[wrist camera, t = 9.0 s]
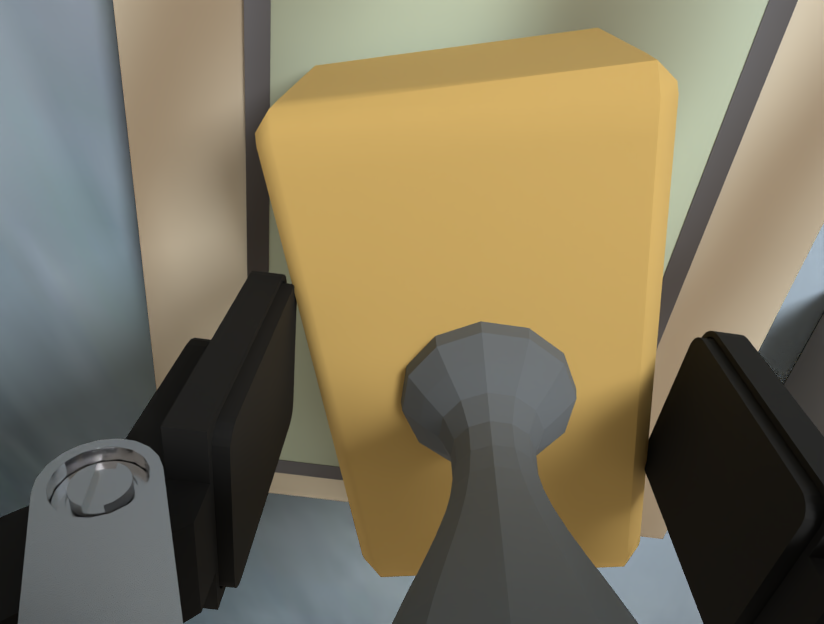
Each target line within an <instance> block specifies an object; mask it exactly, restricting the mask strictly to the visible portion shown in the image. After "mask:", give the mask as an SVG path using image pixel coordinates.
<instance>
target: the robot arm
mask: <svg viewBox="0 0 824 624" xmlns="http://www.w3.org/2000/svg"><path fill="white" fill-rule="evenodd" d="M296 311H297V301H296V297H295V290H294V285H293V284H290V283H287V280H286V276H285V274H277V273H269V272H262V271H251V273H250V274H249V276H248V278H247V279H246V281H245V283H244V284H243V286H242V288H241V290H240V291H239V293H238V295H237V296H236V298H235V300H234V302H233V303H232V305H231V307H230V308H229V310H228V312H227V314H226V315H225V317H224V319H223V320H222V322H221V324H220V325H219V327H218V329H217V331H216V332H215V334H214V336H213V337H212V339H211V340H210V339H202V338H192V339H190V341H189V342H188V343H187V344H186V346H185V347H184V349H183V350H182V352H181V353H180V355H179V357H178V358H177V360H176V361H175V363H174V364H173V366H172V368H171V369H170V371H169V372H168V374H167V375H166V377H165V378H164V380H163V382H162V383H161V385H160V386H159V388H158V389H157V391H156V392H155V394H154V396H153V397H152V399H151V400H150V402H149V403H148V405H147V406H146V408H145V410H144V411H143V413H142V414H141V416H140V417H139V419H138V421H137V422H136V424H135V425H134V427H133V428H132V430H131V431H130V433H129V435H128V436H127V438H126V439H119V438H116V439H103V440H96V441H93V442H89V443H85V444H82V445H79V446H77V447H74V448H72V449H70V450H68V451H66V452H64V453H62V454H60V455H59V456H58V457H57V458H55V459H54V460H53V461H51V462H50V463H49V464H47V465H46V466H45V468H44V469H43V470H42V471H41V473H40V474H39V475H38V476H37V478H36V479H35V482H34V485H33V488H32V491H31V496H30V505H29V506H27V507H24V508H22V509H20V510H17V511H15V512H12V513H10V514H8V515H5V516H3V517H1V518H0V624H183V623H184V622H186V621H188V620H189V619H191V618H193V617H194V616H196V615H198V614H199V613H201V612H202V609H203V608H208V609H217V610H218V608H219V605H220V602H221V599H222V596H223V593H224V590H225V587H234V588H237V587H238V585H239V583H240V580H241V578H242V575H243V571H244V568H245V565H246V562H247V559H248V556H249V552H250V549H251V546H252V543H253V540H254V537H255V533H256V530H257V527H258V524H259V521H260V518H261V515H262V511H263V508H264V505H265V502H266V499H267V496H268V492H269V489H270V486H271V483H272V480H273V477H274V473H275V470H276V467H277V464H278V461H279V458H280V455H281V451H282V448H283V445H284V442H285V439H286V436H287V432H288V429H289V426H290V422H291V418H292V412H293V398H294V369H295V340H296ZM644 470H645V473H646V475H647V478H648V480H649V483H650V486H651V488H652V491H653V493H654V496H655V499H656V501H657V504H658V507H659V509H660V512H661V514H662V517H663V520H664V522H665V525H666V527H667V530H668V533H669V535H670V538H671V540H672V543H673V546H674V548H675V551H676V553H677V556H678V559H679V561H680V564H681V566H682V569H683V572H684V574H685V577H686V579H687V582H688V585H689V587H690V590H691V592H692V595H693V598H694V600H695V603H696V605H697V608H698V611H699V613H700V616H701V618H702V621H703V624H824V436H823V435H822V434H821V432H820V431H819V430H818V429H817V427H816V426H815V425H814V423H813V422H812V421H811V419H810V418H809V417H808V416H807V414H806V413H805V412H804V410H803V409H802V408H801V407H800V405H799V404H798V403H797V401H796V400H795V399H794V398H793V396H792V395H791V394H790V392H789V391H788V390H787V389H786V387H785V386H784V385H783V383H782V382H781V381H780V380H779V378H778V377H777V376H776V374H775V373H774V372H773V371H772V369H771V368H770V367H769V365H768V364H767V363H766V362H765V360H764V359H763V358H762V356H761V355H760V354H759V353H758V351H757V350H756V349H755V347H754V346H753V345H752V344H751V342H750V341H749V340H748V338H746V337H745V336H744V335H740V334H732V333H724V332H717V331H708V332H706V333H705V334H704V335H703V336H702V338H701V337H697V338H695V339H694V340H693V341H692V342H691V344H690V346H689V348H688V351H687V353H686V355H685V357H684V360H683V362H682V364H681V367H680V369H679V371H678V373H677V376H676V378H675V380H674V383H673V385H672V387H671V389H670V392H669V394H668V396H667V399H666V401H665V403H664V405H663V408H662V410H661V412H660V415H659V417H658V419H657V421H656V424H655V426H654V428H653V431H652V433H651V435H650V437H649V441H648V452H647V461H646V465H645V469H644Z"/></svg>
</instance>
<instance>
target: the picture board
mask: <svg viewBox="0 0 824 624" xmlns="http://www.w3.org/2000/svg"><path fill="white" fill-rule="evenodd" d="M113 5H114V14H115V23H116V32H117V41H118V50H119V58H120V67H121V76H122V85H123V94H124V103H125V112H126V121H127V130H128V139H129V148H130V157H131V166H132V175H133V184H134V193H135V202H136V211H137V220H138V229H139V237H140V246H141V255H142V264H143V273H144V282H145V291H146V300H147V309H148V318H149V327H150V336H151V345H152V354H153V363H154V372H155V381H156V390H157V389H158V388H159V386H160V385H161V383H162V382H163V380H164V378H165V377H166V375H167V374H168V372H169V371H170V369H171V368H172V366H173V364H174V363H175V361H176V360H177V358H178V357H179V355H180V353H181V352H182V350H183V349H184V347H185V346H186V344H187V343H188V342H189V341H190V339H192V338H202V339H210V340H211V339H212V337H213V336H214V334H215V332H216V331H217V329H218V327H219V325H220V324H221V322H222V320H223V319H224V317H225V315H226V314H227V312H228V310H229V308H230V307H231V305H232V303H233V302H234V300H235V298H236V296H237V295H238V293H239V291H240V290H241V288H242V286H243V284H244V283H245V281H246V279H247V278H248V276H249V274H250V273H251V271H262V272H269V273H277V274H285V276H286V280H287V283H290V284H292V282H291V278H290V274H289V270H288V266H287V262H286V259H285V255H284V251H283V247H282V243H281V239H280V235H279V232H278V228H277V224H276V220H275V216H274V212H273V209H272V205H271V201H270V197H269V193H268V189H267V185H266V182H265V178H264V174H263V170H262V166H261V162H260V159H259V155H258V151H257V147H256V139H255V132H256V130H257V129H258V127H259V125H260V124H261V122H262V120H263V118H264V117H265V115H266V113H267V111H268V110H269V109H270V108H271V106H272V105H273V104H274V103H275V102H276V101H277V100H278V99H279V98H280V97H281V96H283V95H284V94H285V93H286V92H287V91H288V90H289V89H290V88H291V87H292V86H293V85H295V84H296V83H297V82H298V81H299V80H300V79H301V78H302V77H303V76H304V75H305V74H306V73H308V72H309V71H310V70H311V69H312V68H313V67H314V66H316V65H323V64H331V63H338V62H345V61H353V60H360V59H368V58H375V57H383V56H390V55H398V54H405V53H413V52H420V51H427V50H435V49H442V48H450V47H457V46H465V45H472V44H480V43H487V42H495V41H502V40H509V39H517V38H524V37H532V36H539V35H547V34H554V33H562V32H569V31H577V30H584V29H591V28H600V29H602V30H603V31H605V32H607V33H609V34H611V35H613V36H615V37H617V38H619V39H621V40H623V41H624V42H626V43H628V44H630V45H632V46H634V47H636V48H638V49H640V50H642V51H644V52H645V53H647V54H649V55H650V56H652V57H654V58H655V59H657V60H658V61H659V62H660V63H661V64H662V65H663V66H664V67H665V68H666V69H667V70H668V71H669V72H670V73H671V75H672V76H673V77H674V78H675V79H676V80H677V81H678V92H679V96H678V108H677V119H676V131H675V142H674V154H673V165H672V177H671V188H670V200H669V211H668V223H667V234H666V246H665V257H664V269H663V280H662V292H661V303H660V315H659V326H658V338H657V349H656V360H655V372H654V383H653V395H652V406H651V418H650V429H649V437H650V435H651V433H652V431H653V428H654V426H655V424H656V421H657V419H658V417H659V415H660V412H661V410H662V408H663V405H664V403H665V401H666V399H667V396H668V394H669V392H670V389H671V387H672V385H673V383H674V380H675V378H676V376H677V373H678V371H679V369H680V367H681V364H682V362H683V360H684V357H685V355H686V353H687V351H688V348H689V346H690V344H691V342H692V341H693V340H694V339H695V338H697V337H701V338H702V336H703V335H704V334H705V333H706V332H708V331H717V332H724V333H732V334H740V335H744V336H745V337H746V338H748V340H749V341H750V342H751V344H752V345H753V346H754V347H755V349H756V350H757V351H759V349H760V347H761V345H762V343H763V341H764V339H765V337H766V335H767V333H768V331H769V329H770V327H771V325H772V323H773V321H774V319H775V317H776V315H777V314H778V312H779V310H780V308H781V306H782V304H783V302H784V300H785V298H786V296H787V294H788V292H789V290H790V288H791V286H792V284H793V282H794V280H795V278H796V276H797V274H798V272H799V270H800V268H801V266H802V264H803V262H804V260H805V259H806V257H807V255H808V253H809V251H810V249H811V247H812V245H813V243H814V241H815V239H816V237H817V235H818V233H819V231H820V229H821V227H822V225H823V223H824V0H113ZM268 493H276V494H285V495H293V496H302V497H310V498H319V499H327V500H336V501H344V502H349V501H348V497H347V493H346V489H345V485H344V482H343V478H342V474H341V470H340V466H339V462H338V459H337V455H336V451H335V447H334V443H333V439H332V435H331V432H330V428H329V424H328V420H327V416H326V412H325V409H324V405H323V401H322V397H321V393H320V389H319V385H318V382H317V378H316V374H315V370H314V366H313V362H312V359H311V355H310V351H309V347H308V343H307V339H306V335H305V332H304V328H303V324H302V320H301V316H300V312H299V309H298V305H297V311H296V340H295V369H294V398H293V412H292V418H291V422H290V426H289V429H288V432H287V436H286V439H285V442H284V445H283V448H282V451H281V455H280V458H279V461H278V464H277V467H276V470H275V473H274V477H273V480H272V483H271V486H270V489H269V492H268ZM666 531H667V527H666V525H665V522H664V520H663V517H662V514H661V512H660V509H659V507H658V504H657V501H656V499H655V496H654V493H653V491H652V488H651V486H650V483H649V480H648V478H647V475H645V487H644V498H643V510H642V521H641V533H640V536H642V537H651V538H659V539H663V537H664V535H665V533H666Z"/></svg>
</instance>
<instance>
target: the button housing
mask: <svg viewBox="0 0 824 624" xmlns="http://www.w3.org/2000/svg"><path fill="white" fill-rule="evenodd" d="M784 386H785V387H786V389H787V390H788V391H789V392H790V394H791V395H792V396H793V398H794V399H795V400H796V401H797V403H798V404H799V405H800V407H801V408H802V409H803V410H804V412H805V413H806V414H807V416H808V417H809V418H810V419H811V421H812V422H813V423H814V425H815V426H816V427H817V429H818V430H819V431H820V432H821V434H822V435H823V436H824V314H823V315H822V317H821V319H820V321H819V323H818V324H817V326H816V328H815V330H814V332H813V333H812V335H811V337H810V339H809V341H808V342H807V344H806V346H805V348H804V350H803V351H802V353H801V355H800V357H799V359H798V360H797V362H796V364H795V366H794V368H793V369H792V371H791V373H790V375H789V377H788V378H787V380H786V382H785V384H784Z"/></svg>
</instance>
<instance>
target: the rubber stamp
mask: <svg viewBox="0 0 824 624" xmlns="http://www.w3.org/2000/svg"><path fill="white" fill-rule="evenodd" d="M678 96H679V92H678V81H677V80H676V79H675V78H674V77H673V76H672V75H671V73H670V72H669V71H668V70H667V69H666V68H665V67H664V66H663V65H662V64H661V63H660V62H659V61H658V60H657V59H655V58H654V57H652V56H650V55H649V54H647V53H645V52H644V51H642V50H640V49H638V48H636V47H634V46H632V45H630V44H628V43H626V42H624V41H623V40H621V39H619V38H617V37H615V36H613V35H611V34H609V33H607V32H605V31H603V30H602V29H600V28H591V29H584V30H577V31H569V32H562V33H554V34H547V35H539V36H532V37H524V38H517V39H509V40H502V41H495V42H487V43H480V44H472V45H465V46H457V47H450V48H442V49H435V50H427V51H420V52H413V53H405V54H398V55H390V56H383V57H375V58H368V59H360V60H353V61H345V62H338V63H331V64H323V65H316V66H314V67H313V68H312V69H311V70H310V71H309V72H308V73H306V74H305V75H304V76H303V77H302V78H301V79H300V80H299V81H298V82H297V83H296V84H295V85H293V86H292V87H291V88H290V89H289V90H288V91H287V92H286V93H285V94H284V95H283V96H281V97H280V98H279V99H278V100H277V101H276V102H275V103H274V104H273V105H272V106H271V108H270V109H269V110H268V111H267V113H266V115H265V117H264V118H263V120H262V122H261V124H260V125H259V127H258V129H257V130H256V132H255V139H256V147H257V151H258V155H259V159H260V162H261V166H262V170H263V174H264V178H265V182H266V185H267V189H268V193H269V197H270V201H271V205H272V209H273V212H274V216H275V220H276V224H277V228H278V232H279V235H280V239H281V243H282V247H283V251H284V255H285V259H286V262H287V266H288V270H289V274H290V278H291V282H292V284H293V285H294V290H295V297H296V301H297V305H298V309H299V312H300V316H301V320H302V324H303V328H304V332H305V335H306V339H307V343H308V347H309V351H310V355H311V359H312V362H313V366H314V370H315V374H316V378H317V382H318V385H319V389H320V393H321V397H322V401H323V405H324V409H325V412H326V416H327V420H328V424H329V428H330V432H331V435H332V439H333V443H334V447H335V451H336V455H337V459H338V462H339V466H340V470H341V474H342V478H343V482H344V485H345V489H346V493H347V497H348V501H349V505H350V509H351V512H352V516H353V520H354V524H355V528H356V532H357V535H358V539H359V543H360V547H361V551H362V555H363V557H364V558H365V560H366V561H367V562H368V563H369V564H370V565H371V566H372V568H373V569H374V570H375V571H376V572H377V573H378V574H379V576H380V577H393V576H416V577H415V579H414V581H413V582H412V584H411V586H410V588H409V590H408V592H407V594H406V596H405V598H404V600H403V602H402V604H401V606H400V608H399V610H398V612H397V615H396V617H395V619H394V621H393V623H392V624H638V623H637V621H636V620H635V619H634V617H633V616H632V615H631V613H630V612H629V611H628V609H627V608H626V606H625V605H624V604H623V602H622V601H621V600H620V598H619V597H618V596H617V594H616V593H615V592H614V590H613V589H612V588H611V586H610V585H609V584H608V582H607V581H606V580H605V578H604V577H603V576H602V575H601V573H600V572H599V571H598V569H597V567H620V566H625V564H626V563H627V561H628V560H629V558H630V557H631V556H632V554H633V553H634V551H635V550H636V548H637V547H638V545H639V542H640V533H641V521H642V510H643V498H644V487H645V475H646V473H645V470H644V469H645V465H646V461H647V452H648V441H649V429H650V418H651V406H652V395H653V383H654V372H655V360H656V349H657V338H658V326H659V315H660V303H661V292H662V280H663V269H664V257H665V246H666V234H667V223H668V211H669V200H670V188H671V177H672V165H673V154H674V142H675V131H676V119H677V108H678Z"/></svg>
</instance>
